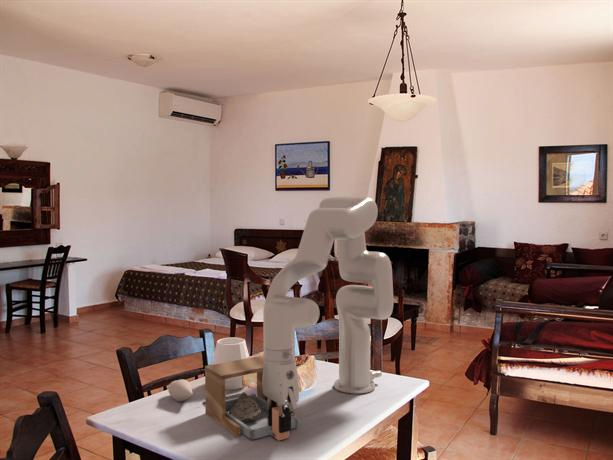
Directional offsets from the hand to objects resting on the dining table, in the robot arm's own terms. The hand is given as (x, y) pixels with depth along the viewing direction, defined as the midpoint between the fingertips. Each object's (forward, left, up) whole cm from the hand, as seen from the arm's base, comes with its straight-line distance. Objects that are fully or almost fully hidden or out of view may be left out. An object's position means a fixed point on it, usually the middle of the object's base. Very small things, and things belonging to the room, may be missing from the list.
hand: (279, 427), depth 134 cm
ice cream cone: (+10, -36, -3) cm, 38 cm away
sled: (0, -10, -2) cm, 10 cm away
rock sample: (+2, -14, -3) cm, 15 cm away
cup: (-8, -41, -3) cm, 42 cm away
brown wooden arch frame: (0, -19, -3) cm, 19 cm away
